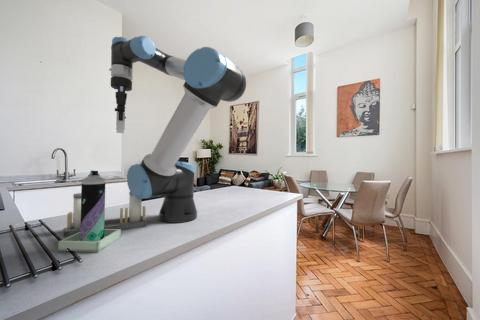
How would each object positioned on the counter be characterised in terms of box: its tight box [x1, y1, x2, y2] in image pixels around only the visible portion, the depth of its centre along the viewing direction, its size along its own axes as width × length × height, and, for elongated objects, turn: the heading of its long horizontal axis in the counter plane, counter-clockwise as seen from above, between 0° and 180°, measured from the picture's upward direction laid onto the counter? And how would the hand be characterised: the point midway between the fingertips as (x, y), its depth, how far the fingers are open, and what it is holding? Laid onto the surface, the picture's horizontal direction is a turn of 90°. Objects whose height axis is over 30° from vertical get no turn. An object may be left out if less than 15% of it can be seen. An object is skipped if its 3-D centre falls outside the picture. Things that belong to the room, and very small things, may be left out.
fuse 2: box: [128, 191, 143, 223], centre depth 76 cm, size 4×4×12 cm
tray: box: [57, 229, 122, 253], centre depth 58 cm, size 10×10×2 cm
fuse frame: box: [63, 206, 148, 238], centre depth 72 cm, size 23×9×6 cm, turn 120°
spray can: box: [80, 170, 106, 242], centre depth 59 cm, size 6×6×20 cm
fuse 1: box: [72, 192, 81, 229], centre depth 68 cm, size 4×4×12 cm
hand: (120, 131), depth 84 cm, fingers open, 13 cm apart
